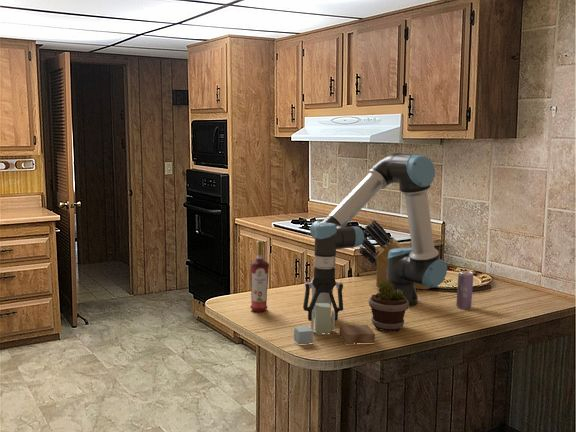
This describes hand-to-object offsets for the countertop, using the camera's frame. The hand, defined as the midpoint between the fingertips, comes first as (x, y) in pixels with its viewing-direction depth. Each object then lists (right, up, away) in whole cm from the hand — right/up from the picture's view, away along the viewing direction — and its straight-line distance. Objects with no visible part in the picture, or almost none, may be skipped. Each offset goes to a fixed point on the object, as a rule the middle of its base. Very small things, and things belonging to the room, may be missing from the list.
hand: (322, 329), depth 227 cm
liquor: (-24, +3, +24) cm, 34 cm away
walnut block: (+12, -3, -7) cm, 14 cm away
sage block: (0, -1, 0) cm, 1 cm away
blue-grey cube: (-7, -3, -11) cm, 14 cm away
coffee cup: (+1, +2, +18) cm, 18 cm away
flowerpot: (+25, -1, +7) cm, 26 cm away
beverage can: (+60, +2, +35) cm, 70 cm away
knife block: (+37, +8, +68) cm, 78 cm away
